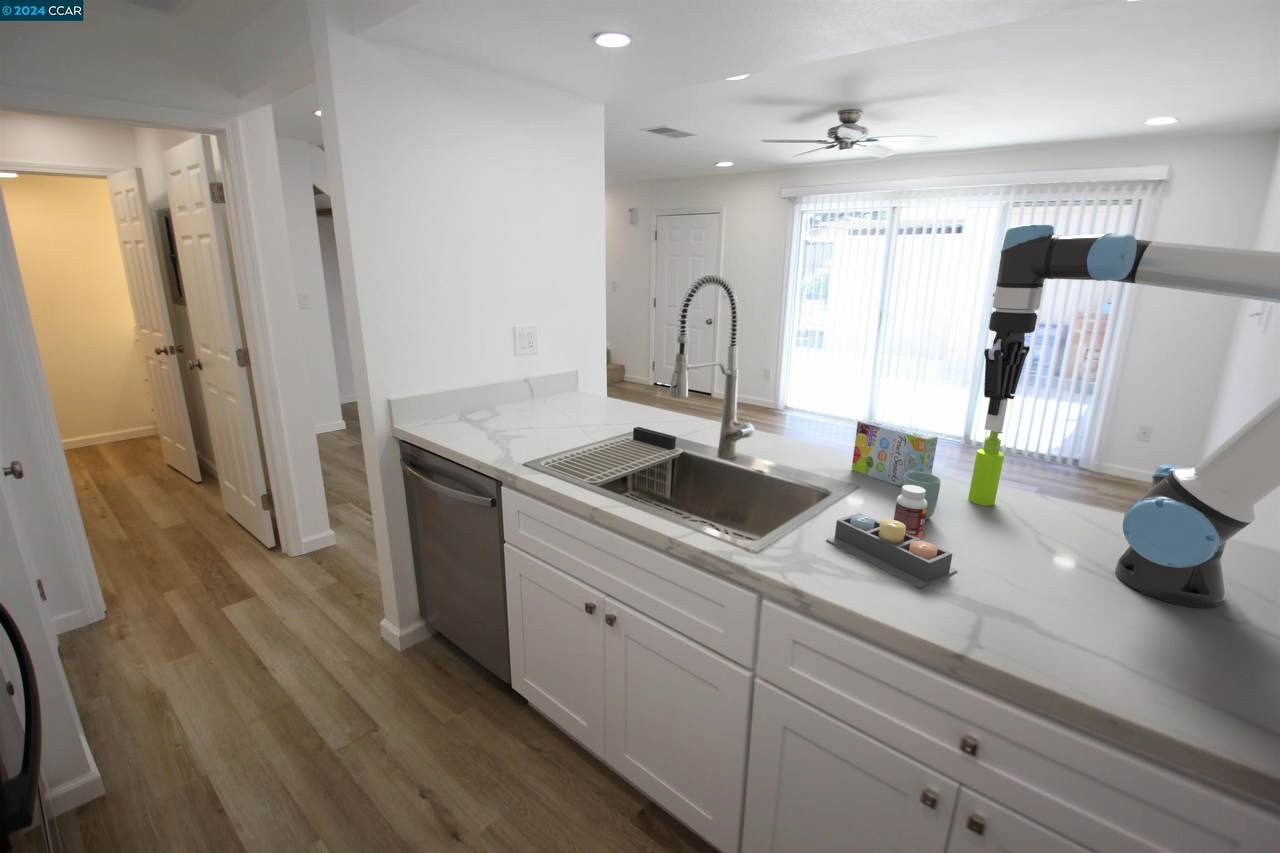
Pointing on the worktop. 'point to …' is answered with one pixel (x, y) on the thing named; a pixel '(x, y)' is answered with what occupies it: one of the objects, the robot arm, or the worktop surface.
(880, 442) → the snack box
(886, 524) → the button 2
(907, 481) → the cup
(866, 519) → the light blue block
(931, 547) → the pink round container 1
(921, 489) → the pill bottle
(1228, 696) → the worktop surface
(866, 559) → the grey compartment tray
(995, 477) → the soap dispenser
